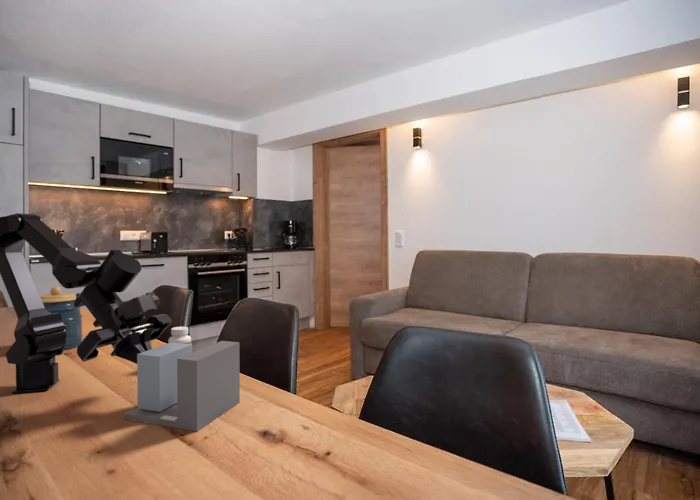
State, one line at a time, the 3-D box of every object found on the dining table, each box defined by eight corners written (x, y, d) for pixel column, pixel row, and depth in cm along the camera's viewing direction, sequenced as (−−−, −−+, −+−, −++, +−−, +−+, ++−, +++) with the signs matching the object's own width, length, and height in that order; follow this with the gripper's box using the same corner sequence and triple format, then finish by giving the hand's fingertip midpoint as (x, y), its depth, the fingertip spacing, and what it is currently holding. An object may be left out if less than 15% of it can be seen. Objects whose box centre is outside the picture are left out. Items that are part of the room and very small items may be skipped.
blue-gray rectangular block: (137, 408, 78) (137, 354, 77) (172, 391, 86) (171, 342, 86) (160, 411, 76) (159, 356, 76) (192, 394, 85) (192, 344, 84)
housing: (124, 419, 76) (123, 352, 76) (174, 393, 88) (174, 336, 88) (197, 431, 71) (196, 360, 71) (239, 402, 84) (239, 342, 83)
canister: (83, 348, 123) (82, 287, 122) (27, 355, 116) (26, 290, 115) (81, 339, 134) (81, 283, 133) (30, 344, 126) (29, 285, 126)
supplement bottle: (183, 370, 103) (183, 331, 103) (163, 369, 104) (163, 329, 104) (195, 364, 109) (195, 326, 108) (176, 362, 110) (176, 325, 109)
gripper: (87, 285, 74) (139, 353, 71) (164, 276, 92) (208, 330, 89) (55, 327, 77) (103, 395, 74) (135, 310, 94) (177, 364, 91)
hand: (153, 367), depth 82 cm, fingers closed
